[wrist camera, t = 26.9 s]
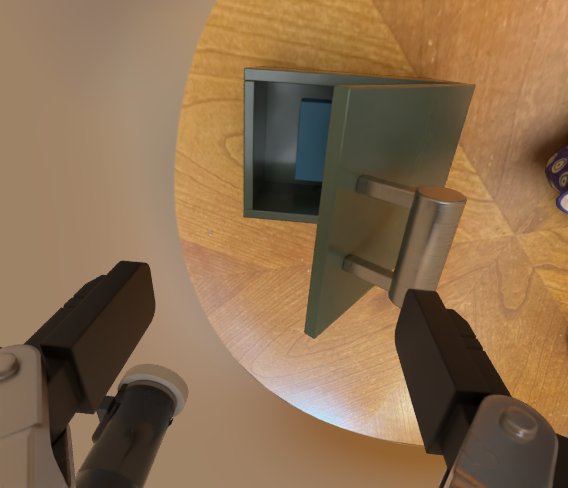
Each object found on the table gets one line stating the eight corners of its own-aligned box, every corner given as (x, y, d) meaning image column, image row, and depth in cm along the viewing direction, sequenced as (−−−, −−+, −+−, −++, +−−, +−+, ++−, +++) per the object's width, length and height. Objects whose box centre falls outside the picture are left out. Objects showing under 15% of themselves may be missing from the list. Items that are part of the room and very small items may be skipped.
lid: (303, 333, 17) (392, 389, 15) (332, 85, 12) (485, 102, 9) (421, 234, 28) (483, 255, 26) (465, 83, 23) (550, 91, 20)
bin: (257, 185, 37) (243, 217, 29) (260, 66, 31) (243, 67, 24) (400, 197, 36) (424, 233, 29) (429, 78, 31) (468, 83, 23)
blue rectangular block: (302, 97, 32) (300, 101, 29) (349, 101, 31) (353, 105, 29) (295, 170, 35) (294, 179, 32) (338, 173, 35) (341, 183, 32)
